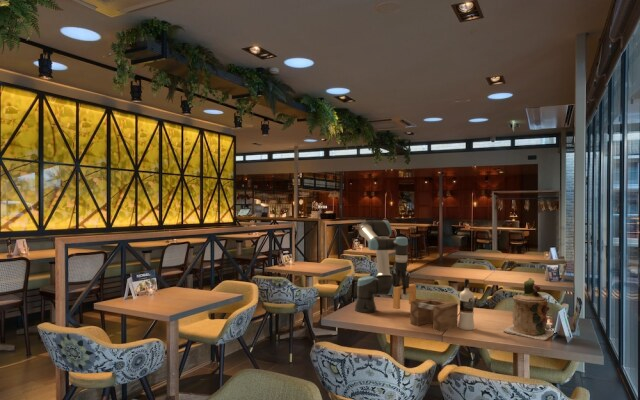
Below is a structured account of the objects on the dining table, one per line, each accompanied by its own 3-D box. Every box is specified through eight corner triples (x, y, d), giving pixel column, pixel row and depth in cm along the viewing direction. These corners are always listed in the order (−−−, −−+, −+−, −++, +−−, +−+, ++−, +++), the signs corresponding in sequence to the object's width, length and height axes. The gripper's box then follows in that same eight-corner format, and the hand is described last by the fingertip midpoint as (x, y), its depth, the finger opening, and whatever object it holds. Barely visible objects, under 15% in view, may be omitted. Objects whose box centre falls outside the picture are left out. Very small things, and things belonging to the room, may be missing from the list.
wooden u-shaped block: (393, 308, 290) (393, 287, 289) (411, 303, 302) (411, 283, 302) (397, 309, 287) (397, 288, 287) (415, 304, 300) (416, 284, 300)
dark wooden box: (410, 324, 288) (410, 301, 288) (427, 319, 300) (427, 298, 301) (441, 331, 272) (441, 307, 272) (457, 326, 284) (457, 303, 284)
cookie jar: (501, 332, 272) (502, 278, 272) (516, 325, 290) (516, 274, 291) (546, 341, 256) (547, 283, 256) (558, 332, 274) (559, 278, 274)
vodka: (469, 326, 285) (469, 277, 286) (477, 330, 276) (478, 280, 277) (455, 326, 283) (456, 278, 284) (463, 331, 274) (464, 280, 275)
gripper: (387, 260, 295) (386, 297, 295) (408, 263, 283) (407, 301, 283) (394, 259, 300) (393, 295, 300) (415, 262, 288) (414, 300, 288)
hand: (400, 298), depth 292 cm, fingers closed on wooden u-shaped block, 3 cm apart
